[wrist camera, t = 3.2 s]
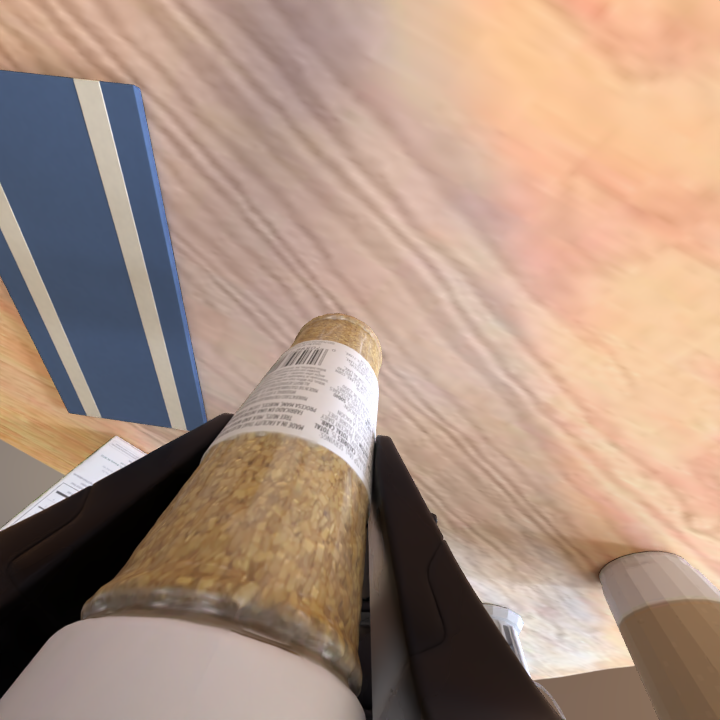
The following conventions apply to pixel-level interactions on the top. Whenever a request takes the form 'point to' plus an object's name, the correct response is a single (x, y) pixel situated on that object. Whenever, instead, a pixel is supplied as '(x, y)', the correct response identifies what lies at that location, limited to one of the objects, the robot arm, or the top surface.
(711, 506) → the top surface
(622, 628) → the coffee cup
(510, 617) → the french press
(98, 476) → the syrup box
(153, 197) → the tea towel
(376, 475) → the robot arm
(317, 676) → the sprinkles bottle
